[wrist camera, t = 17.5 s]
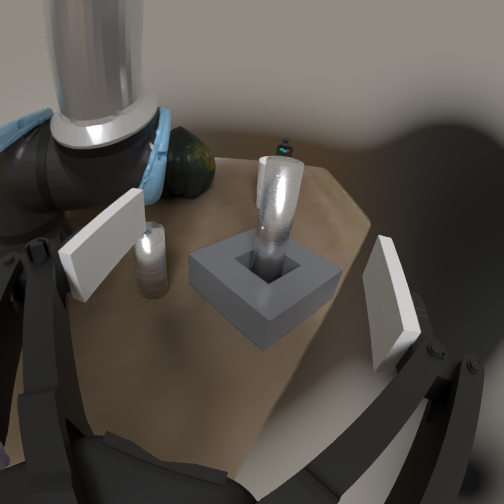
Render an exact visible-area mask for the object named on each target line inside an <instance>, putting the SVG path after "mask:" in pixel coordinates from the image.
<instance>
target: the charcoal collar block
mask: <svg viewBox="0 0 504 504" xmlns="http://www.w3.org/2000/svg"><path fill="white" fill-rule="evenodd" d="M256 229H257V227H256V228H253V229H250V230H248V231H245V232H243V233H240V234H238V235H235V236H232V237H230V238H227V239H225V240H222V241H220V242H217V243H214V244H212V245H209V246H207V247H204V248H202V249H199V250H197V251H194V252H192V253H189V284H190V285H191V286H192V287H193V288H194V289H195V290H196V291H197V292H198V293H199V294H201V295H202V296H203V297H204V298H205V299H206V300H207V301H208V302H209V303H210V304H211V305H212V306H213V307H214V308H215V309H217V310H218V311H219V312H220V313H221V314H222V315H223V316H224V317H225V318H226V319H227V320H229V321H230V322H231V323H232V324H233V325H234V326H235V327H236V328H237V329H238V330H240V331H241V332H242V333H243V334H244V335H245V336H246V337H247V338H249V339H250V340H251V341H252V342H253V343H254V344H255V345H257V346H258V347H259V348H260V349H261V350H262V351H263V350H264V349H266V348H267V347H269V346H270V345H271V344H273V343H274V342H275V341H277V340H278V339H280V338H281V337H282V336H284V335H285V334H286V333H288V332H289V331H290V330H292V329H293V328H294V327H296V326H297V325H298V324H300V323H301V322H302V321H304V320H305V319H306V318H307V317H309V316H310V315H311V314H313V313H314V312H315V311H316V310H318V309H319V308H320V307H322V306H323V305H324V304H325V303H327V302H328V301H329V300H330V299H332V298H333V295H334V293H335V290H336V287H337V285H338V282H339V279H340V276H341V274H342V271H343V269H341V268H340V267H338V266H336V265H335V264H333V263H331V262H330V261H328V260H327V259H325V258H323V257H322V256H320V255H318V254H317V253H315V252H314V251H312V250H310V249H309V248H307V247H305V246H304V245H302V244H300V243H299V242H297V241H295V240H294V239H292V238H290V239H289V244H288V249H287V253H286V258H285V263H284V267H283V272H282V276H281V277H280V278H279V279H277V280H275V281H273V282H272V283H270V284H268V283H266V282H265V281H263V280H262V279H261V278H259V277H258V276H257V275H255V274H254V273H253V272H251V265H252V257H253V250H254V243H255V236H256Z"/></svg>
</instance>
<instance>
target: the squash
mask: <svg viewBox="0 0 504 504" xmlns="http://www.w3.org/2000/svg"><path fill="white" fill-rule="evenodd" d="M166 157H167V162H166V171H165V178H164V185H163V190H162V194H161V195H168V196H169V195H172V194H175V195H180V194H182V195H183V196H184V197H186V198H195V197H196V196H197V195H198V194H199V193H201V192H203V191H205V190H206V189H208V187H209V186H210V185H211V183H212V180H213V178H214V174H215V160H214V156H213V154H212V152H211V150H210V149H209V148H208V147H207V146H206V145H205V144H204V143H203V142H202V141H201V140H200V139H198V138H197V137H196V136H195V135H193V134H192V133H191V132H189V131H188V130H187V129H185V128H183V127H181V126H179V127H178V128H175V129H173V130H171V131H170V138H169V146H168V152H167V156H166Z"/></svg>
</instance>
